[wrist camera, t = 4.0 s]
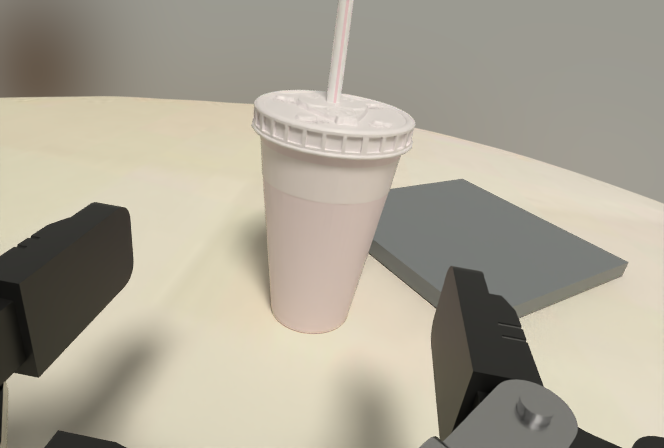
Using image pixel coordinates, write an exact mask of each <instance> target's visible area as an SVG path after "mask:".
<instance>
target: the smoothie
mask: <svg viewBox="0 0 664 448" xmlns="http://www.w3.org/2000/svg"><path fill="white" fill-rule="evenodd" d="M353 1H354V0H338V8H337V16H336V25H335V33H334V41H333V49H332V58H331V67H330V74H329V83H328V91H327V92H326V91H312V90H284V91H275V92H270V93H267V94H264V95H261V96H259V97H258V98H257V99H256V100H255V102H254V118H253V121H252V125H251V126H252V128H253V129H254V131H255V132H256V133H257V134H258V135H260V138H261V156H262V174H263V186H264V202H265V218H266V233H267V249H268V264H269V280H270V295H271V309H272V313H273V315H274V317H275V318H276V319H277V320H278V321H279V322H280V323H281V324H283V325H284V326H286V327H288V328H290V329H292V330H295V331H299V332H303V333H325V332H329V331H332V330H334V329H336V328H338V327H340V326H341V325H342V324H343V323H344V322H345V320H346V318H347V315H348V312H349V309H350V306H351V303H352V300H353V297H354V294H355V291H356V288H357V285H358V282H359V279H360V276H361V273H362V270H363V267H364V264H365V261H366V258H367V255H368V252H369V249H370V246H371V243H372V240H373V237H374V234H375V231H376V228H377V225H378V222H379V219H380V216H381V213H382V210H383V207H384V204H385V201H386V198H387V196H388V193H389V191H390V188H391V184H392V181H393V178H394V175H395V172H396V168H397V165H398V162H399V159H400V157H401V155H403V154H405V153H406V152H408V151H409V150H410V149H411V148H412V142H413V141H412V136H413V131H414V127H415V121H414V119H413V118H412V117H411V116H410V115H409V114H407V113H406V112H404V111H403V110H401V109H398V108H396V107H394V106H391V105H388V104H385V103H383V102H379V101H375V100H372V99H367V98H363V97H359V96H353V95H348V94H342V93H341V91H342V84H343V76H344V69H345V62H346V54H347V47H348V39H349V32H350V24H351V17H352V9H353Z"/></svg>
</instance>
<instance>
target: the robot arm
mask: <svg viewBox="0 0 664 448" xmlns="http://www.w3.org/2000/svg"><path fill="white" fill-rule="evenodd" d="M132 270H133V248H132V235H131V221H130V214H129V212H128V210H127V209H126V208H124V207H120V206H114V205H108V204H103V203H97V202H94V203H91V204H90V205H88V206H87V207H85V208H84V209H82V210H81V211H79V212H78V213H76V214H75V215H73V216H72V217H69V218H66V219H63V220H61V221H58V222H55V223H52V224H49V225H47V226H45V227H44V228H42V229H41V230H39V231H38V232H36V233H35V234H33V235H32V236H31V238H27V239H25V240H24V241H22V242H21V243H19V244H18V246H17V247H13V248H12V249H10V250H9V251H7V252H5V253H4V254H2V255H1V256H0V448H7V422H8V387H7V383H6V380H7V379H8V378H9V377H10V376H11V375H12V374H13V373H18V374H23V375H28V376H33V377H38V378H39V377H40V376H41V375H42V374H43V372H44V371H45V370H46V369H47V368H48V367H49V366H50V365H51V364H52V363H53V362H54V361H55V360H56V359H57V358H58V357H59V356H60V354H61V353H62V352H63V351H64V350H65V349H66V348H67V347H68V346H69V345H70V344H71V343H72V342H73V341H74V340H75V339H76V338H77V336H78V335H79V334H80V333H81V332H82V331H83V330H84V329H85V328H86V327H87V326H88V325H89V324H90V323H91V322H92V321H93V320H94V318H95V317H96V316H97V315H98V314H99V313H100V312H101V311H102V310H103V309H104V308H105V307H106V306H107V305H108V304H109V303H110V301H111V300H112V299H113V298H114V297H115V296H116V295H117V294H118V293H119V292H120V291H121V290H122V289H123V288H124V287H125V285H126V284H127V283H128V281H129V279H130V277H131V274H132ZM431 348H432V359H433V370H434V381H435V392H436V403H437V414H438V425H439V436H440V439H439V438H438V437H436V436H434V437H431V438H430V439H428V440H427V441H426V442H425V443H424V444H423V445H422V446H421V447H420V448H621V447H619V446H617V445H615V444H612V443H610V442H608V441H605V440H603V439H601V438H599V437H596V436H594V435H592V434H590V433H588V432H586V431H584V430H582V429H580V428H579V427H578V425H577V421H576V418H575V416H574V414H573V412H572V410H571V409H570V408H569V407H568V405H567V404H566V403H565V402H564V401H563V400H562V399H561V398H560V397H558V396H557V395H556V394H554V393H553V392H551V391H550V390H548V389H546V388H545V387H544V386H543V383H542V381H541V378H540V375H539V373H538V370H537V367H536V364H535V362H534V359H533V356H532V354H531V351H530V348H529V345H528V343H526V337H525V335H524V332H523V329H521V324H520V321H519V318H518V316H517V313H516V311H515V309H514V308H513V307H512V306H511V305H510V304H509V303H508V302H507V301H506V300H505V299H504V298H503V296H500V295H495V294H489V291H488V287H487V284H486V281H485V278H484V274H483V272H482V271H477V270H472V269H466V268H461V267H455V266H450V267H449V269H448V271H447V274H446V277H445V281H444V284H443V288H442V291H441V295H440V298H439V302H438V305H437V309H436V312H435V316H434V320H433V325H432V332H431ZM45 448H126V447H124V446H122V445H120V444H118V443H116V442H112V441H107V440H102V439H97V438H92V437H88V436H83V435H78V434H73V433H68V432H64V431H59V430H58V431H57V432H56V434H55V435H54V436H53V437H52V439H51V440H50V441H49V443H48V444H47V445H46V446H45ZM632 448H664V438H663V437H657V436H646V437H642V438H640V439H638V440H637V441H636V442H635V443H634V445H633V447H632Z"/></svg>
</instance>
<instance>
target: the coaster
mask: <svg viewBox="0 0 664 448" xmlns="http://www.w3.org/2000/svg"><path fill="white" fill-rule="evenodd" d="M368 253H370V254H371V255H372V256H373V257H374V258H376V259H377V260H378V261H379V262H381V263H382V264H383V265H384V266H385V267H387V268H388V269H389V270H390V271H392V272H393V273H394V274H395V275H396V276H398V277H399V278H400V279H401V280H403V281H404V282H405V283H406V284H408V285H409V286H410V287H411V288H412V289H414V290H415V291H416V292H417V293H419V294H420V295H421V296H422V297H423V298H425V299H426V300H427V301H428V302H430V303H431V304H432V305H433V306H434V307H436V308H437V305H438V302H439V298H440V295H441V291H442V288H443V284H444V281H445V277H446V274H447V271H448V269H449V267H450V266H455V267H461V268H466V269H472V270H477V271H482V272H483V274H484V278H485V281H486V284H487V287H488V291H489V294H495V295H500V296H503V298H504V299H505V300H506V301H507V302H508V303H509V304H510V305H511V306H512V307H513V308H514V309H515V311H516V313H517V316H518V318H520V317H523V316H525V315H528V314H530V313H532V312H535V311H537V310H540V309H542V308H545V307H547V306H550V305H552V304H554V303H557V302H559V301H562V300H564V299H567V298H569V297H572V296H574V295H576V294H579V293H581V292H584V291H586V290H589V289H591V288H594V287H596V286H598V285H601V284H603V283H606V282H608V281H611V280H613V279H616V278H618V277H620V276H622V275H623V273H624V271H625V269H626V267H627V265H628V262H627V261H625V260H623V259H621V258H619V257H617V256H615V255H613V254H611V253H609V252H607V251H605V250H603V249H601V248H599V247H597V246H595V245H593V244H591V243H589V242H587V241H585V240H583V239H581V238H579V237H577V236H575V235H573V234H571V233H569V232H567V231H565V230H563V229H561V228H559V227H557V226H555V225H553V224H551V223H549V222H547V221H545V220H543V219H541V218H539V217H537V216H535V215H533V214H531V213H529V212H527V211H525V210H523V209H521V208H519V207H517V206H515V205H513V204H511V203H509V202H508V201H506V200H504V199H502V198H500V197H498V196H496V195H494V194H492V193H490V192H488V191H486V190H484V189H482V188H480V187H478V186H476V185H474V184H472V183H470V182H468V181H466V180H464V179H458V180H451V181H444V182H437V183H430V184H423V185H416V186H409V187H402V188H395V189H390V191H389V193H388V196H387V198H386V201H385V204H384V207H383V210H382V213H381V216H380V219H379V222H378V225H377V228H376V231H375V234H374V237H373V240H372V243H371V246H370V249H369V252H368Z"/></svg>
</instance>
